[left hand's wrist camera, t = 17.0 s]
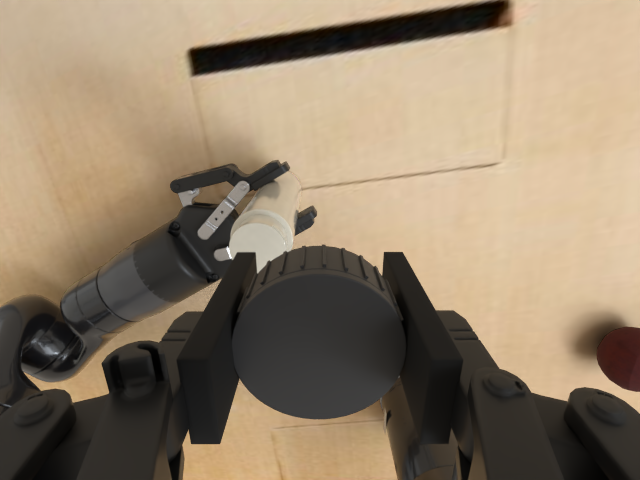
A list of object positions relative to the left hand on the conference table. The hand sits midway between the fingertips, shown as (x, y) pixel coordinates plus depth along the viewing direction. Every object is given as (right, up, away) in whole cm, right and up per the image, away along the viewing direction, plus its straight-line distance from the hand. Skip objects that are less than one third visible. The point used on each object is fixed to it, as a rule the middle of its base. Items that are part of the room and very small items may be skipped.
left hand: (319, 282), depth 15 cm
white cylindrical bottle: (-4, +8, +25) cm, 27 cm away
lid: (0, -2, -4) cm, 4 cm away
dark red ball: (+39, -12, +33) cm, 52 cm away
